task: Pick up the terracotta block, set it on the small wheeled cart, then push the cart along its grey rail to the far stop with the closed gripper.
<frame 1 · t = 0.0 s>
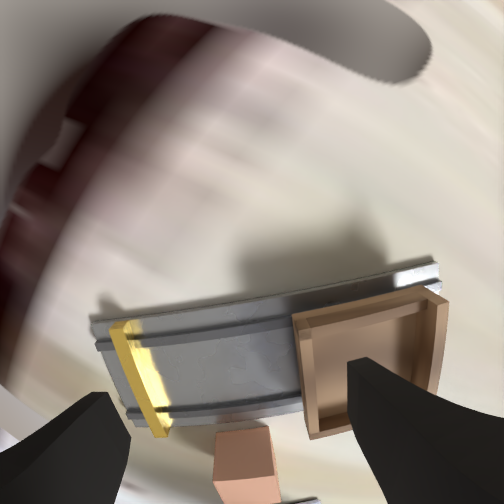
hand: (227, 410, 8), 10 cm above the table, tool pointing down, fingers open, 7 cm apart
rail: (278, 359, 19), on the table
block: (246, 445, 21), on the table
cart: (368, 367, 16), point 3 cm above the table, slide at 0.0 cm
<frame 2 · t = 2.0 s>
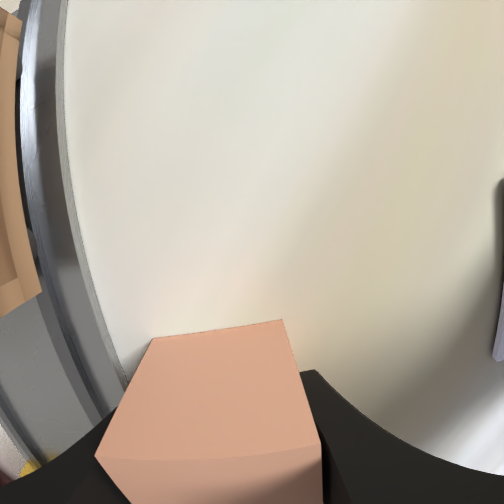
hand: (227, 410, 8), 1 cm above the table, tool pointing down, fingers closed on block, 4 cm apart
rail: (7, 311, 9), on the table
block: (228, 382, 9), on the table, touching gripper
when the fingers open (6 cm above the table, at t = 4.6 s): block stays where it is, resting on cart.
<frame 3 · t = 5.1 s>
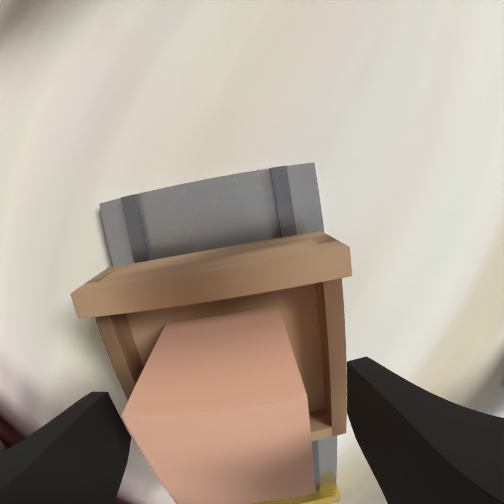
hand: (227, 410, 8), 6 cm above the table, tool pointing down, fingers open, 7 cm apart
rail: (250, 408, 15), on the table
block: (232, 363, 11), point 3 cm above the table, touching cart
cart: (229, 362, 11), point 3 cm above the table, slide at 0.0 cm, touching block
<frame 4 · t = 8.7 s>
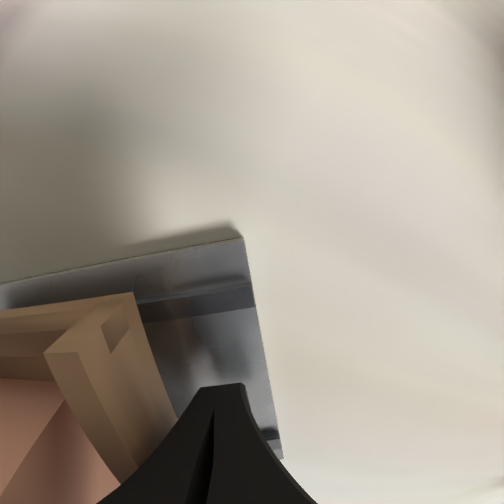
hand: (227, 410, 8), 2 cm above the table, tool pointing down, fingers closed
rail: (15, 380, 10), on the table
block: (57, 429, 7), point 3 cm above the table, touching cart
cart: (58, 432, 7), point 3 cm above the table, slide at 0.3 cm, touching block, gripper
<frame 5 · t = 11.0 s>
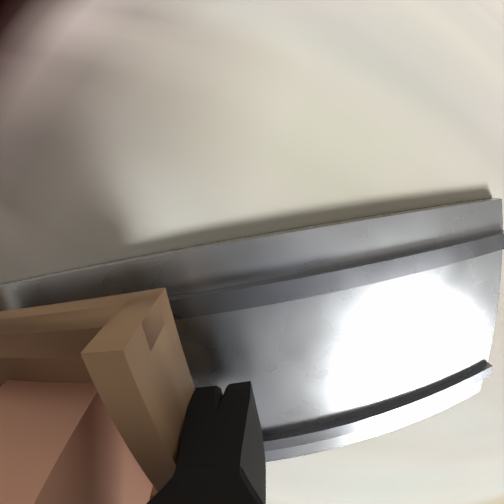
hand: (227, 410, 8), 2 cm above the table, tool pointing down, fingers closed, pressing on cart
rail: (216, 376, 10), on the table
block: (76, 433, 7), point 3 cm above the table, touching cart
cart: (78, 435, 7), point 3 cm above the table, slide at 9.2 cm, touching block, gripper
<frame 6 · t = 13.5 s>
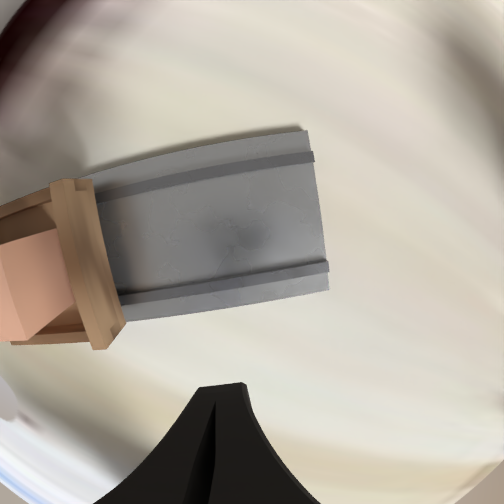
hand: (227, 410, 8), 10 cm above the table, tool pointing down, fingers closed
rail: (120, 246, 17), on the table
block: (41, 270, 14), point 3 cm above the table, touching cart
cart: (41, 269, 14), point 3 cm above the table, slide at 9.0 cm, touching block
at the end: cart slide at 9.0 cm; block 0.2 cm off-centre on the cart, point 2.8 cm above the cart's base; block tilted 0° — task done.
